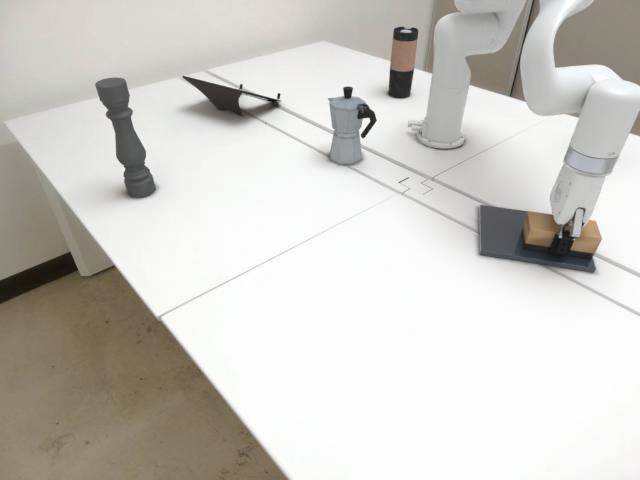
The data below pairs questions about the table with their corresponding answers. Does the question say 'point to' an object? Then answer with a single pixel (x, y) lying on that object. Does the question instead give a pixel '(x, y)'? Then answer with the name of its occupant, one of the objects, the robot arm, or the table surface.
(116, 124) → the candle holder
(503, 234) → the slate board
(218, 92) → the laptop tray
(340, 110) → the coffee maker
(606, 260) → the table surface
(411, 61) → the travel mug
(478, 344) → the table surface
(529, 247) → the scrub brush
